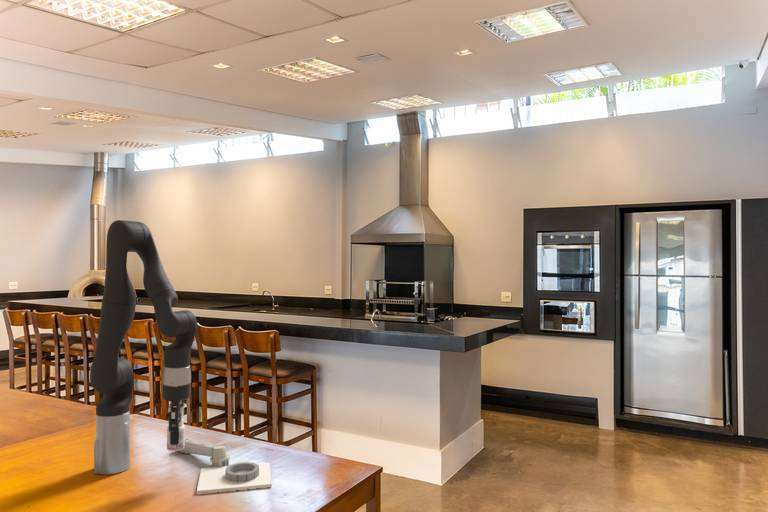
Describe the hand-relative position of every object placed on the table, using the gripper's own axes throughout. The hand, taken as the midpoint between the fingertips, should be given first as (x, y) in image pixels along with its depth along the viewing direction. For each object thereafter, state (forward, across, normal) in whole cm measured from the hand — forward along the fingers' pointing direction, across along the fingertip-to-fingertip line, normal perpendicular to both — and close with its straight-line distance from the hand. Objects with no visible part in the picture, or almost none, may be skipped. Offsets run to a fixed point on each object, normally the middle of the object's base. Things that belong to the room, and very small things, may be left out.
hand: (175, 440), depth 161 cm
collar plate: (+12, +1, +17) cm, 20 cm away
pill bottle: (+2, 0, 0) cm, 2 cm away
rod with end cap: (+13, -18, +6) cm, 22 cm away
